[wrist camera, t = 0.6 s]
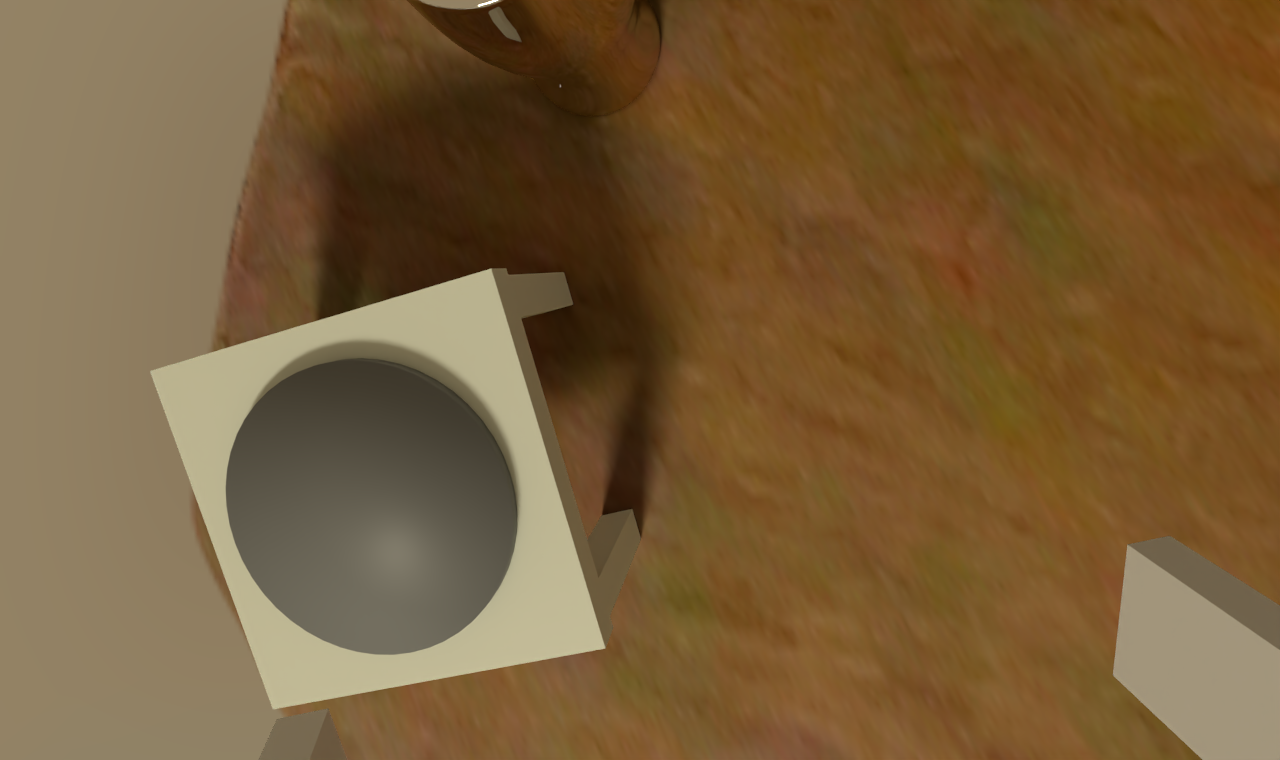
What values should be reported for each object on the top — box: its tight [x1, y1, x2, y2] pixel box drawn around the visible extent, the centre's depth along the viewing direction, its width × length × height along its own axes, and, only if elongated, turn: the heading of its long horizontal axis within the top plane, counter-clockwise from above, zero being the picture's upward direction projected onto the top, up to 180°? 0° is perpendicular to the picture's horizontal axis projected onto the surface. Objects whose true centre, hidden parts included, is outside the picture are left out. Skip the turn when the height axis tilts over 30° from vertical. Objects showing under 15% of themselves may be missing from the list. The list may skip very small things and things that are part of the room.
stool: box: [150, 268, 641, 709], centre depth 31 cm, size 14×14×11 cm
